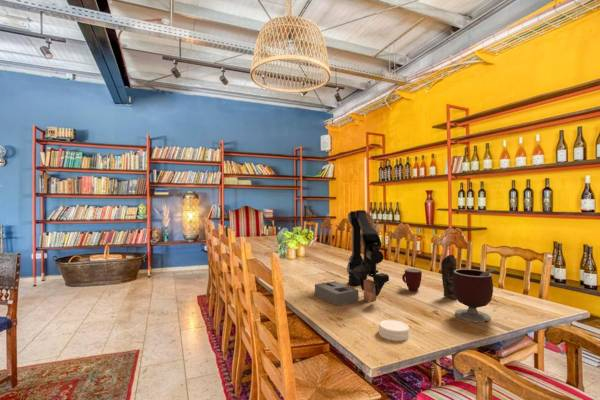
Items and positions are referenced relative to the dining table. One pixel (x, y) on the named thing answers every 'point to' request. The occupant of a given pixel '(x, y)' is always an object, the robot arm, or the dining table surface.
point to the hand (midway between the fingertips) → (370, 293)
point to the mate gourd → (473, 292)
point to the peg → (369, 290)
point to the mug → (412, 278)
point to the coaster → (394, 330)
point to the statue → (448, 275)
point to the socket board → (336, 293)
